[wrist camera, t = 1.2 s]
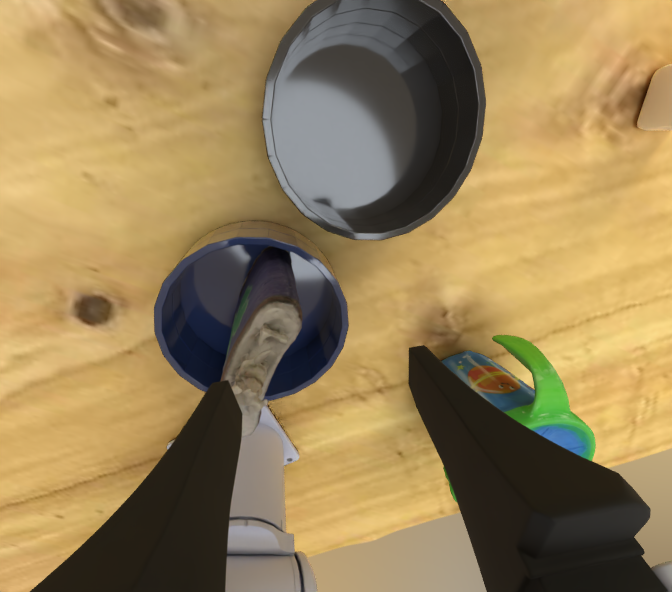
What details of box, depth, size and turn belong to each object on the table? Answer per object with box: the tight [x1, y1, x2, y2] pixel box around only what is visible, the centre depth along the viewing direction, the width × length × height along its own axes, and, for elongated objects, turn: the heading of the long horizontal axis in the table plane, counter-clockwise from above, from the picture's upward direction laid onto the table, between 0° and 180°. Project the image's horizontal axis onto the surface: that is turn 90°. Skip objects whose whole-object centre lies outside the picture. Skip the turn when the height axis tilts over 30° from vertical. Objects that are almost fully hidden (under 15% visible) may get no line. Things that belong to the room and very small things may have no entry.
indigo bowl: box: [154, 221, 349, 401], centre depth 23 cm, size 12×12×4 cm
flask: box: [221, 246, 302, 437], centre depth 19 cm, size 9×3×11 cm, turn 156°
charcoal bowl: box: [262, 0, 486, 240], centre depth 19 cm, size 12×12×4 cm
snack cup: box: [441, 335, 595, 502], centre depth 27 cm, size 16×10×10 cm
